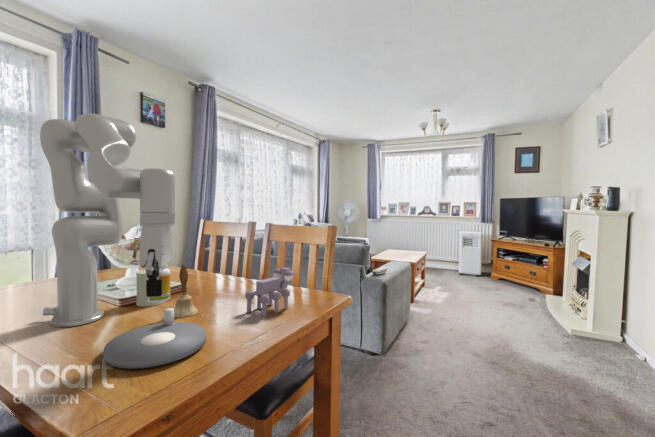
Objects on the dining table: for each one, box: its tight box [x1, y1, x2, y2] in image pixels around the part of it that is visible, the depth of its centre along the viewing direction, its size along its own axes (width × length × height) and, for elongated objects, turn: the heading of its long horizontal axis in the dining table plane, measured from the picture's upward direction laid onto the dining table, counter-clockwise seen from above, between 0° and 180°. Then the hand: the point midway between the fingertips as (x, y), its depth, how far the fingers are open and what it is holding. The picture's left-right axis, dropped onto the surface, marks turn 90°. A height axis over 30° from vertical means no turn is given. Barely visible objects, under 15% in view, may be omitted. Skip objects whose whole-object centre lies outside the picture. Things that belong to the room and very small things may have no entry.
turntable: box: [103, 307, 207, 369], centre depth 76 cm, size 22×22×6 cm
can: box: [135, 269, 166, 308], centre depth 111 cm, size 9×9×12 cm
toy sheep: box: [244, 267, 296, 318], centre depth 108 cm, size 20×11×14 cm, turn 143°
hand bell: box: [174, 264, 199, 319], centre depth 101 cm, size 8×8×16 cm
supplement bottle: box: [146, 264, 171, 303], centre depth 76 cm, size 5×5×10 cm
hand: (158, 291), depth 76 cm, fingers closed on supplement bottle, 5 cm apart
